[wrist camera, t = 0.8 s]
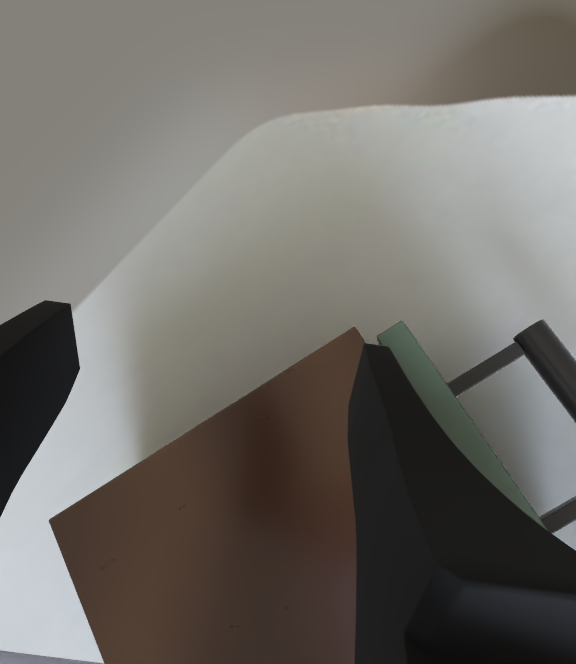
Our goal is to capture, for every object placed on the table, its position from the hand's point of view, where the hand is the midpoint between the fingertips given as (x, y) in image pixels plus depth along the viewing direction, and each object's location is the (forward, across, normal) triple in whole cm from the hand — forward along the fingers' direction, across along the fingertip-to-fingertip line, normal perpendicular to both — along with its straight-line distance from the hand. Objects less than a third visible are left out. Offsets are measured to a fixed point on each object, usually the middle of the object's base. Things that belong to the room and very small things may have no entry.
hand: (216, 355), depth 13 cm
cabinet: (+5, -5, +15) cm, 17 cm away
